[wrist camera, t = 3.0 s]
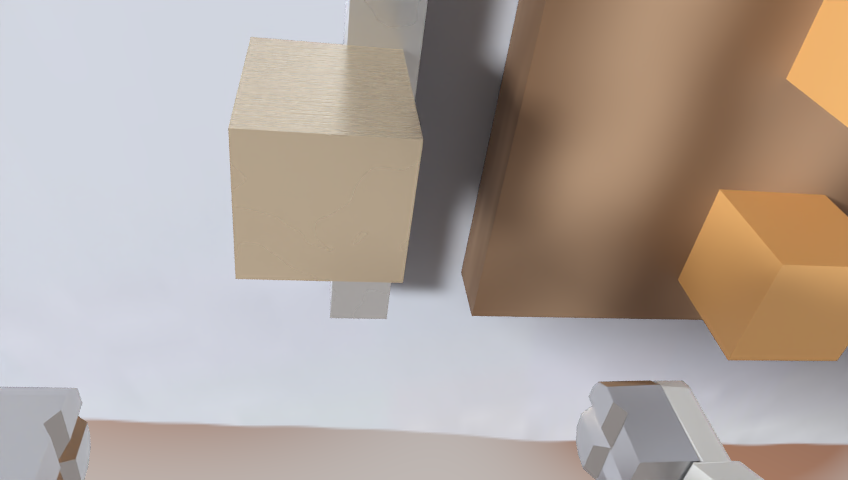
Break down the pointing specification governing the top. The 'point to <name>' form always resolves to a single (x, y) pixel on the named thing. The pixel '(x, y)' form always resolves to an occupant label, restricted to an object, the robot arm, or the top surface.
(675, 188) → the chopping board
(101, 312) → the top surface
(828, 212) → the orange cube
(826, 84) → the orange cube
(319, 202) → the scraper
